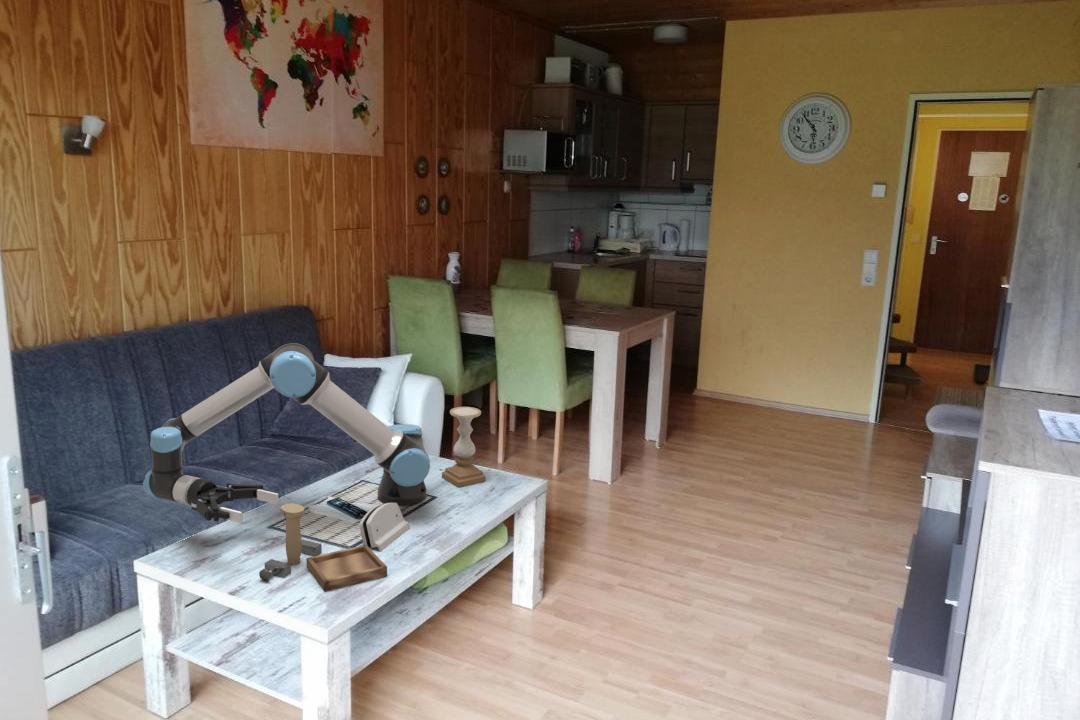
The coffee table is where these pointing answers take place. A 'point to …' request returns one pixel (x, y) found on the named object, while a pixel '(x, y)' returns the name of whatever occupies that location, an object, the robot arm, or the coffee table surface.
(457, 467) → the candle holder
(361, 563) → the tray
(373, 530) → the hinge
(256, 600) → the coffee table surface
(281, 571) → the vise jaw outer
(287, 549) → the handle
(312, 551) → the block
